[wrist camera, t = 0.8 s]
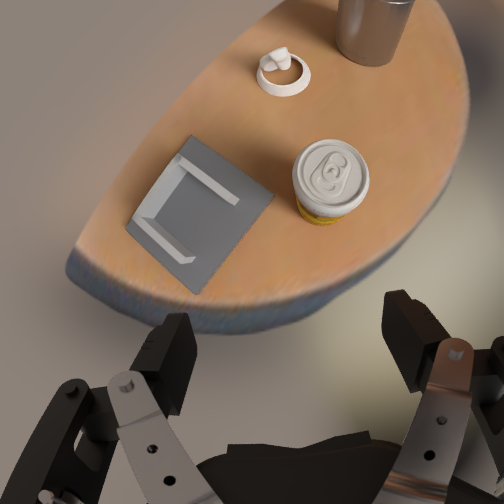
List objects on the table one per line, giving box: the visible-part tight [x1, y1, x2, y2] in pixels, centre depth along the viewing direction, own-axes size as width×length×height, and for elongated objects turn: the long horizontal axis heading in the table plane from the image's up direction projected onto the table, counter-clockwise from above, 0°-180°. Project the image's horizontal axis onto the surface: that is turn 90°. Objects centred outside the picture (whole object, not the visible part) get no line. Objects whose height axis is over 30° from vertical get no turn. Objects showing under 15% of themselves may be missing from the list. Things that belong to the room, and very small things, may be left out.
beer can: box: [292, 139, 369, 226], centre depth 28 cm, size 6×6×15 cm
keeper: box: [125, 135, 275, 295], centre depth 36 cm, size 16×14×5 cm
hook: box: [256, 47, 311, 97], centre depth 32 cm, size 8×12×7 cm
